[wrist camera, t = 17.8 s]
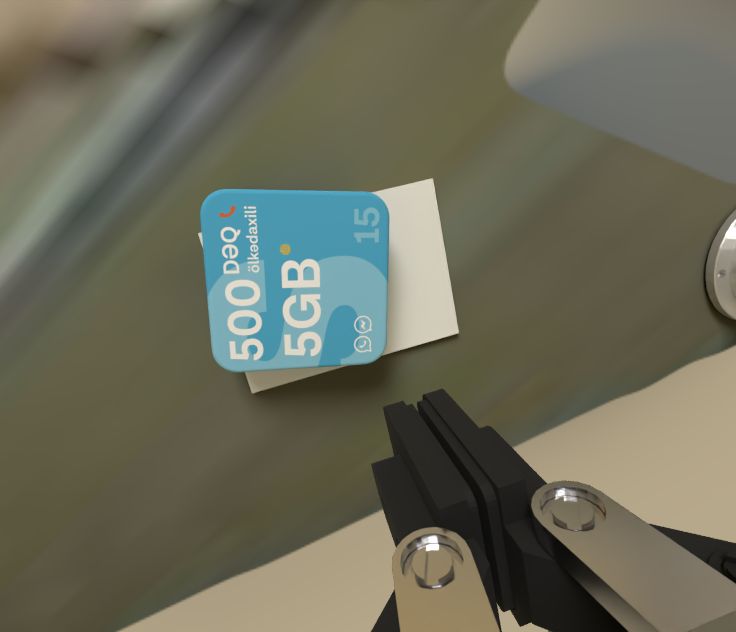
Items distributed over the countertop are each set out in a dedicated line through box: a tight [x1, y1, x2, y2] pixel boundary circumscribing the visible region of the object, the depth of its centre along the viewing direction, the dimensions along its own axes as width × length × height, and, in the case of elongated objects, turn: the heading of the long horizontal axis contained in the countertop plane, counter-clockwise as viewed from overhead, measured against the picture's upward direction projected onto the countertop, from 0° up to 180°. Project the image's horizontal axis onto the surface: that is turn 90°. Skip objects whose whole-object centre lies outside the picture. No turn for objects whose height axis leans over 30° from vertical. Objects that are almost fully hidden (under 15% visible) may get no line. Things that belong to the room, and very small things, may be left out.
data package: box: [200, 189, 389, 372], centre depth 29 cm, size 12×4×12 cm
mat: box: [198, 179, 459, 393], centre depth 33 cm, size 18×13×1 cm
